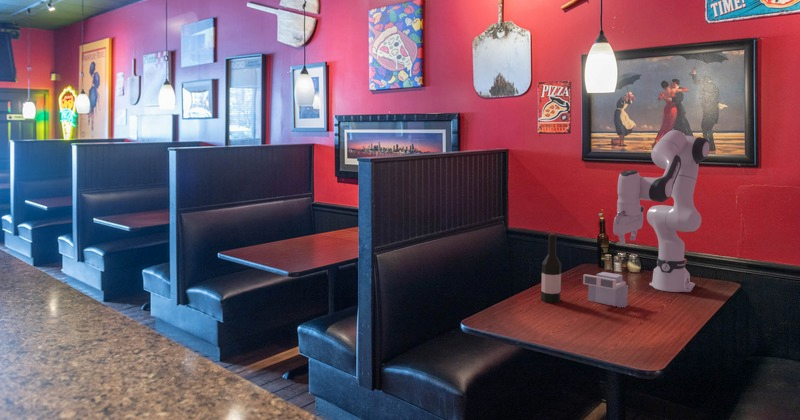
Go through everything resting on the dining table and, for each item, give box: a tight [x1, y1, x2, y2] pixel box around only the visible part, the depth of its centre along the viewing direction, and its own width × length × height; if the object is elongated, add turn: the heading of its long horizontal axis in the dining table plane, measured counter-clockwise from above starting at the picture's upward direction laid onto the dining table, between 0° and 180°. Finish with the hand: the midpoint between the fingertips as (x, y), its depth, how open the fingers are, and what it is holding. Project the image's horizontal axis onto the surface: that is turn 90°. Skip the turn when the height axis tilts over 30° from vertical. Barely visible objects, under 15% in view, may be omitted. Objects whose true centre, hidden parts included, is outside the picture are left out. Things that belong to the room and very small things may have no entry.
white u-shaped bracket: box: [582, 273, 627, 290], centre depth 260 cm, size 10×14×4 cm
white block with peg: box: [587, 271, 629, 309], centre depth 261 cm, size 13×16×12 cm
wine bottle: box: [540, 232, 562, 304], centre depth 266 cm, size 8×8×30 cm
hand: (627, 242), depth 255 cm, fingers open, 8 cm apart
